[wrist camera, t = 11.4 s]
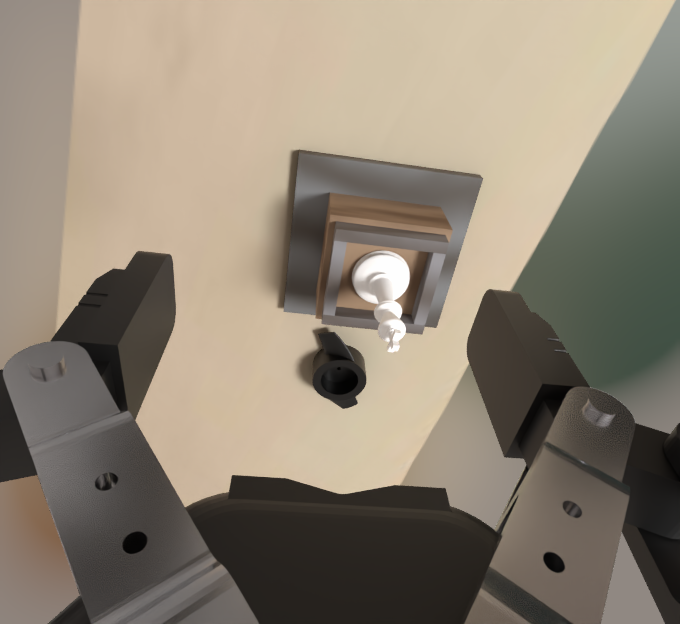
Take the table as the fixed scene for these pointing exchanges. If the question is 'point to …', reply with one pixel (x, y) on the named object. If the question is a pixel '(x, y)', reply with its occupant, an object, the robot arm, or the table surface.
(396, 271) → the chess piece
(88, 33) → the table surface
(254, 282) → the table surface
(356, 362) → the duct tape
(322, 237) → the pedestal
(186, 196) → the table surface
